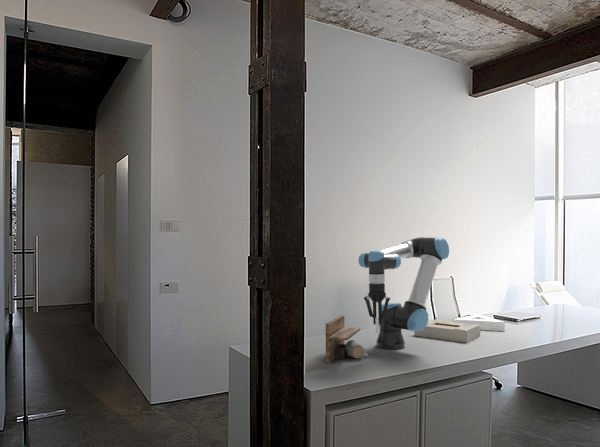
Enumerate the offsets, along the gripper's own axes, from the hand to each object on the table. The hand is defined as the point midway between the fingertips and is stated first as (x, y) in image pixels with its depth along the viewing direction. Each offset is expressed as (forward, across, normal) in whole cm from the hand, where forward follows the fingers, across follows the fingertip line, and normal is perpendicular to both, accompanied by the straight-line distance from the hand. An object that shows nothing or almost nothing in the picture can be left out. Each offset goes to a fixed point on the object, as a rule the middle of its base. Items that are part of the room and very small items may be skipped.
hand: (377, 331), depth 233 cm
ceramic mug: (+14, -11, +1) cm, 18 cm away
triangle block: (+17, +45, +107) cm, 117 cm away
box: (+16, +27, +69) cm, 76 cm away
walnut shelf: (+13, -17, -1) cm, 22 cm away
